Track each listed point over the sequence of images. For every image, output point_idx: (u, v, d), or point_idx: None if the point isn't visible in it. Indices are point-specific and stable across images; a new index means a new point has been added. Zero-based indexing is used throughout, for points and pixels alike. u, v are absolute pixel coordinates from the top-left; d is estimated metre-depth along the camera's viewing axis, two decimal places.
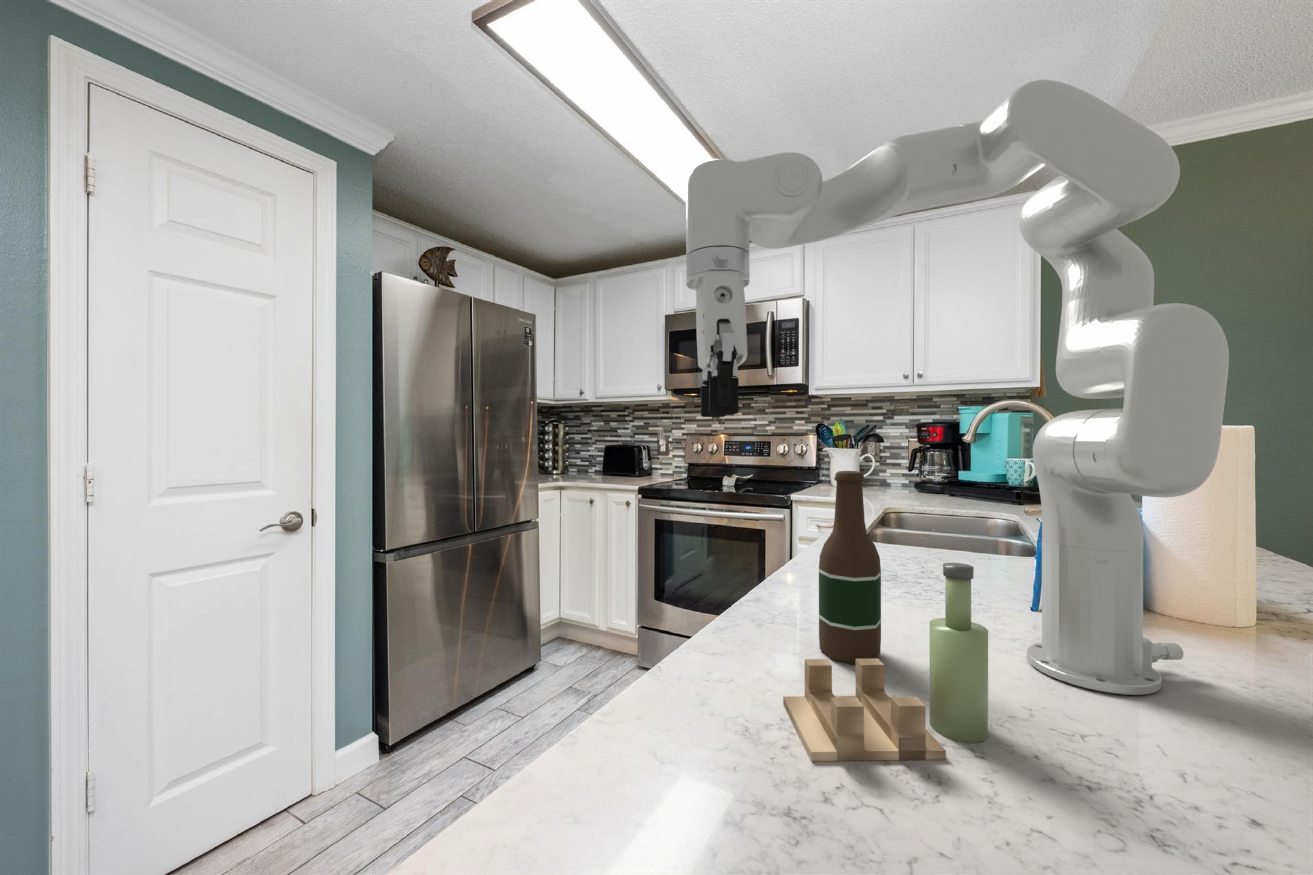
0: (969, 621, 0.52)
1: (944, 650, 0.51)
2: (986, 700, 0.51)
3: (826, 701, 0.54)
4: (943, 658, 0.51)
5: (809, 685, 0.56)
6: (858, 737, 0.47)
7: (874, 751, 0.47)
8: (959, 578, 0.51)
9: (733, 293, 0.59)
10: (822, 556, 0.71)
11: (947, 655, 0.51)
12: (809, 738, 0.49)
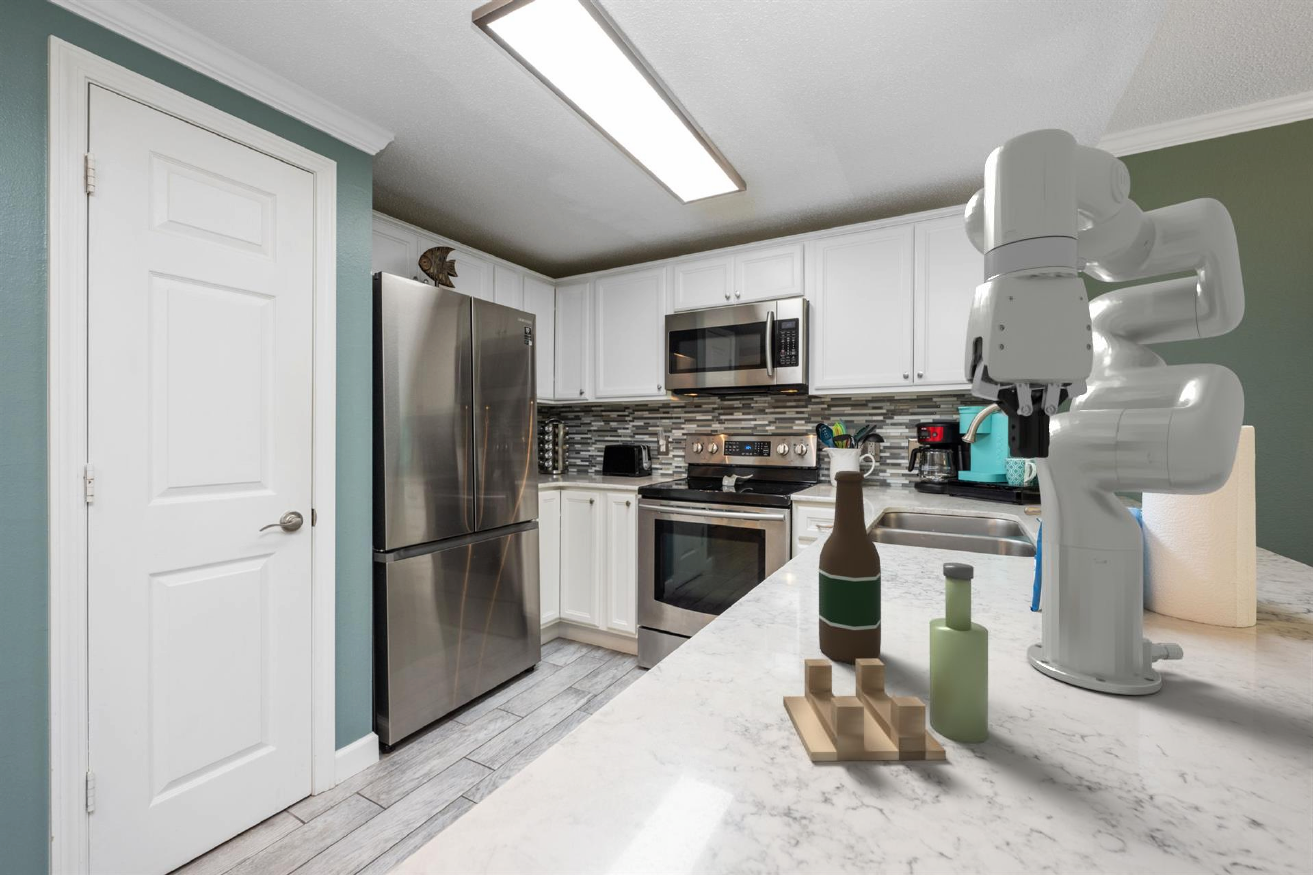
0: (969, 621, 0.52)
1: (944, 650, 0.51)
2: (986, 700, 0.51)
3: (826, 701, 0.54)
4: (943, 658, 0.51)
5: (809, 685, 0.56)
6: (858, 737, 0.47)
7: (874, 751, 0.47)
8: (959, 578, 0.51)
9: None
10: (822, 556, 0.71)
11: (947, 655, 0.51)
12: (809, 738, 0.49)
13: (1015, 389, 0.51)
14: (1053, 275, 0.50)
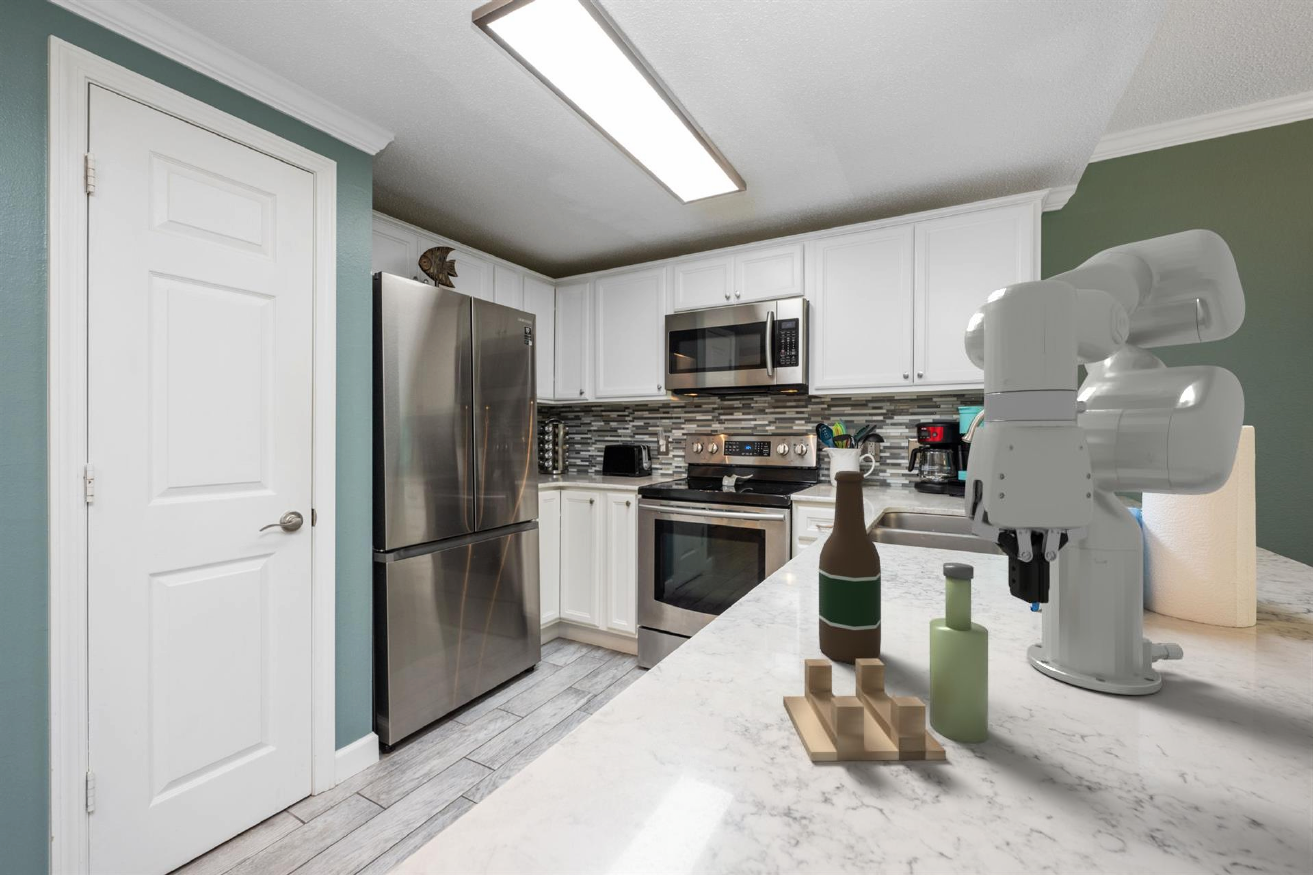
0: (969, 621, 0.52)
1: (944, 650, 0.51)
2: (986, 700, 0.51)
3: (826, 701, 0.54)
4: (943, 658, 0.51)
5: (809, 685, 0.56)
6: (858, 737, 0.47)
7: (874, 751, 0.47)
8: (959, 578, 0.51)
9: None
10: (822, 556, 0.71)
11: (947, 655, 0.51)
12: (809, 738, 0.49)
13: (1015, 534, 0.51)
14: (1053, 425, 0.50)
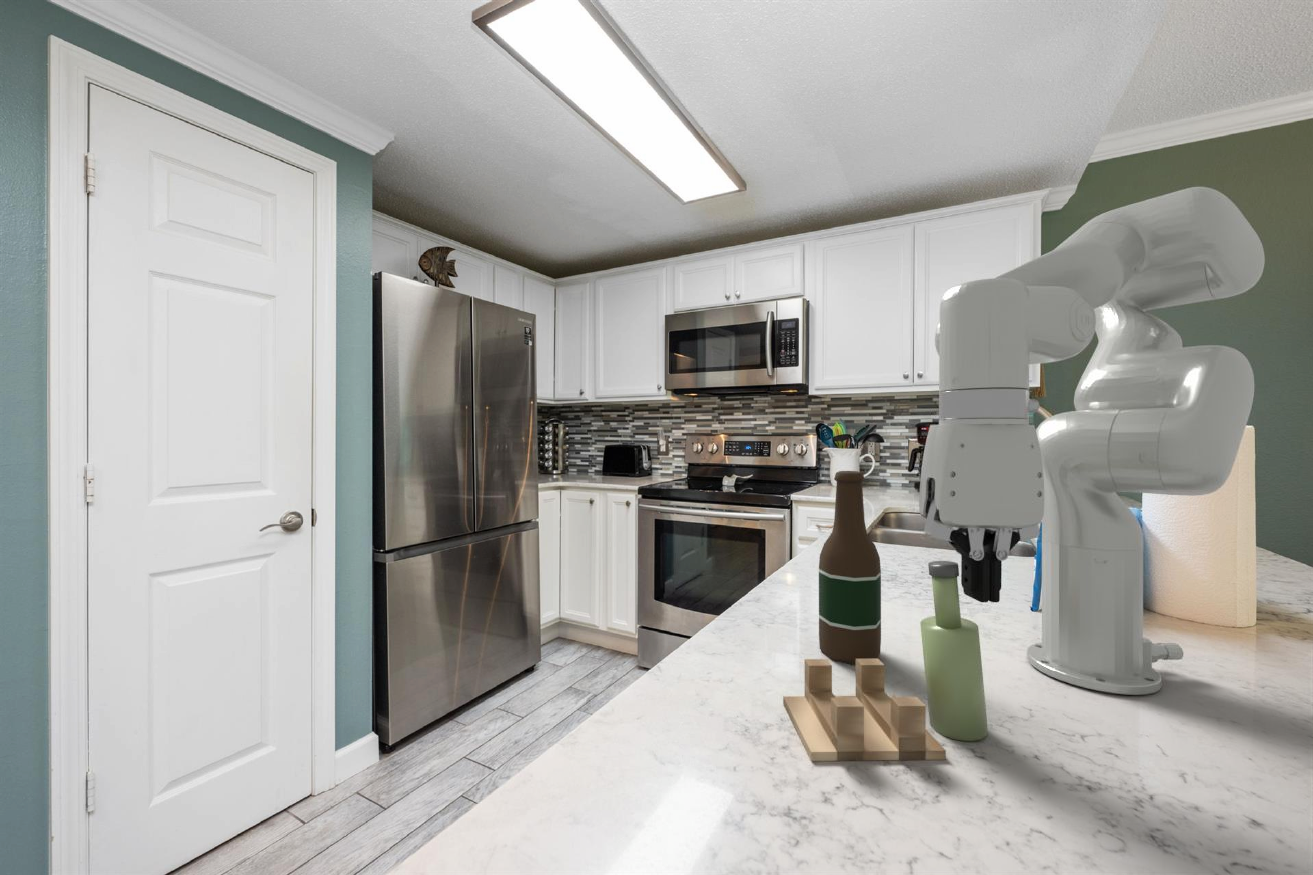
0: (958, 618, 0.51)
1: (936, 650, 0.51)
2: (982, 696, 0.51)
3: (826, 701, 0.54)
4: (936, 658, 0.51)
5: (809, 685, 0.56)
6: (858, 737, 0.47)
7: (874, 751, 0.47)
8: (944, 577, 0.51)
9: None
10: (822, 556, 0.71)
11: (939, 655, 0.51)
12: (809, 738, 0.49)
13: (967, 533, 0.51)
14: (1004, 423, 0.50)
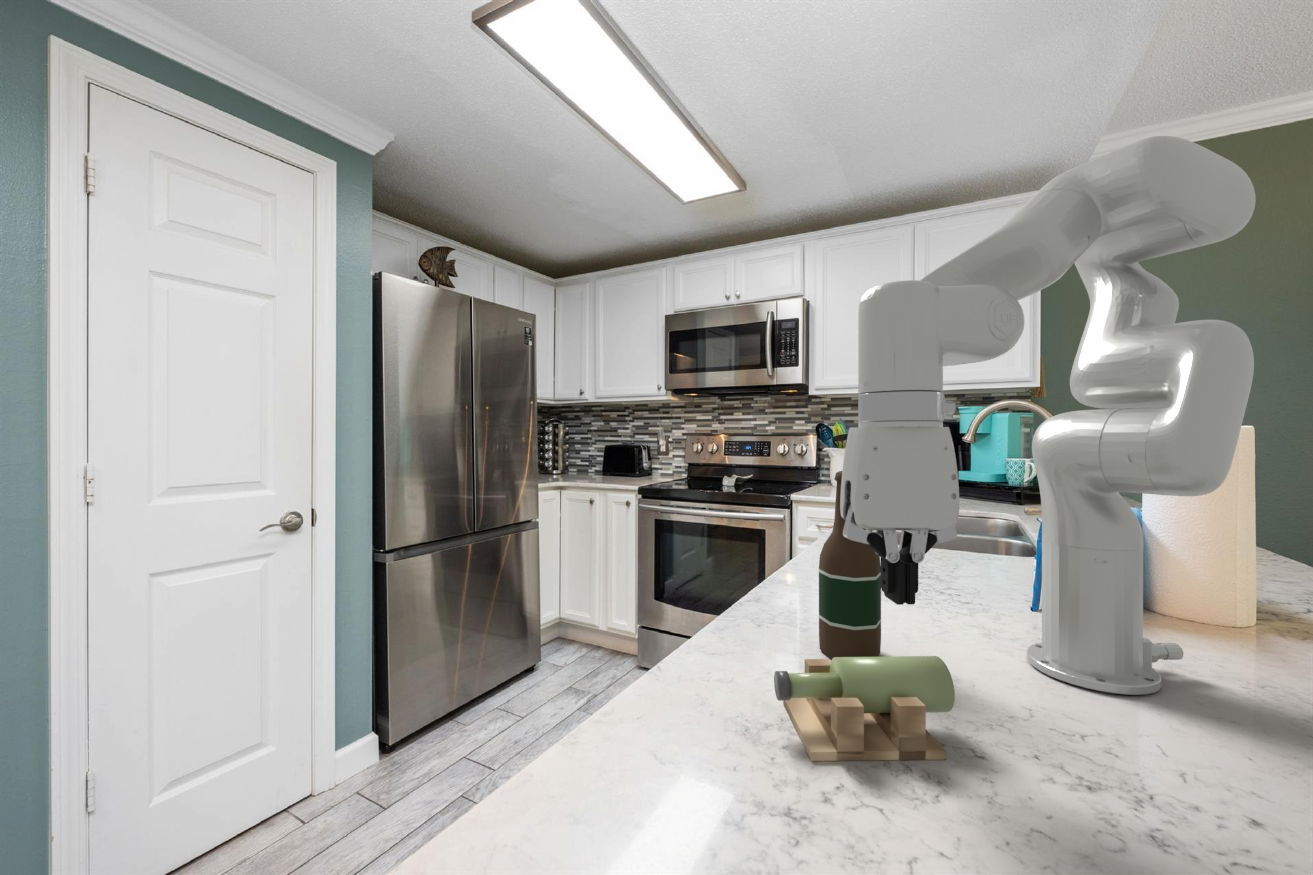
0: (833, 685, 0.51)
1: None
2: (913, 678, 0.50)
3: (826, 701, 0.54)
4: None
5: None
6: (858, 737, 0.47)
7: (874, 751, 0.47)
8: (789, 696, 0.51)
9: None
10: (822, 556, 0.71)
11: (866, 712, 0.51)
12: (809, 738, 0.49)
13: (883, 535, 0.51)
14: (916, 426, 0.50)
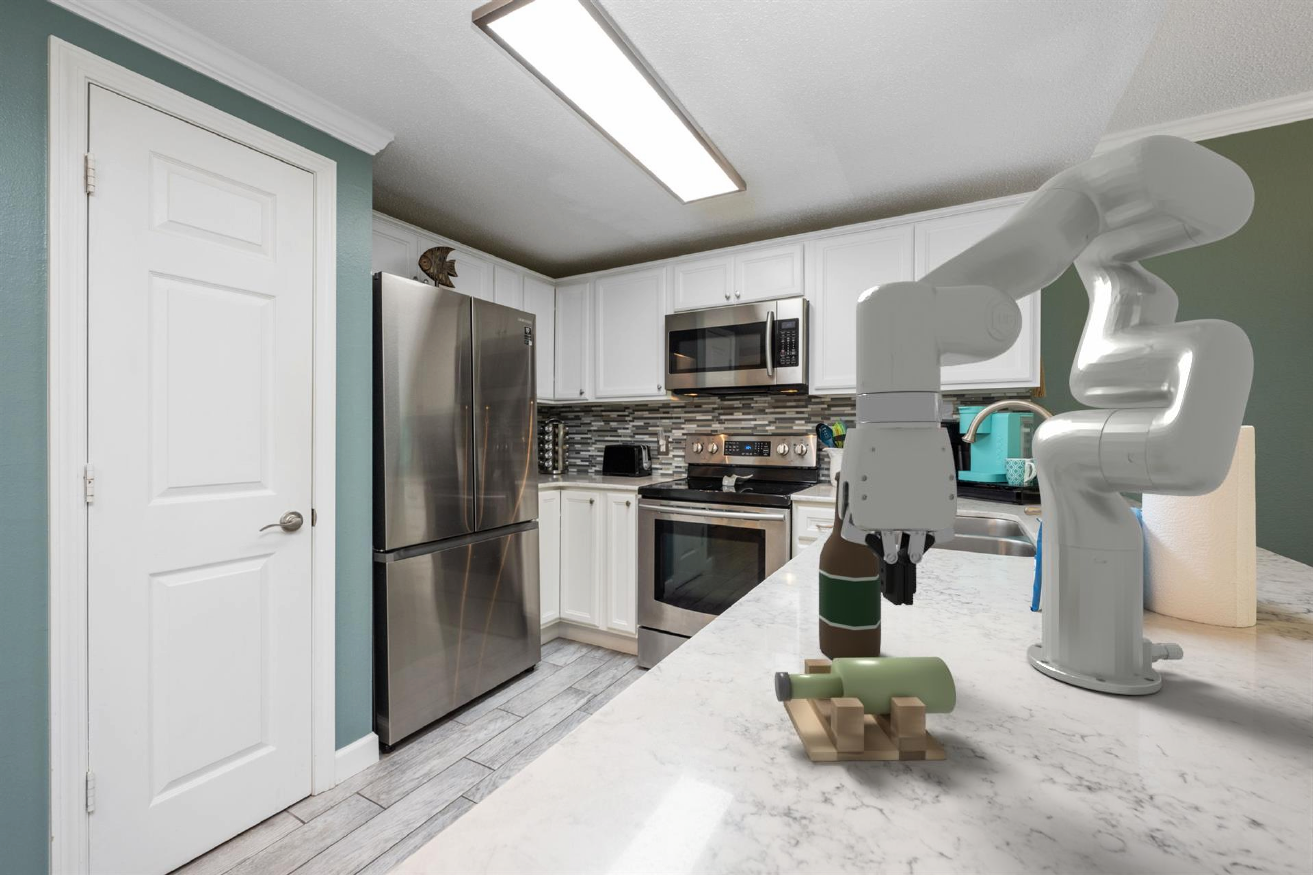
0: (834, 687, 0.51)
1: None
2: (914, 681, 0.50)
3: (826, 701, 0.54)
4: None
5: None
6: (858, 737, 0.47)
7: (874, 751, 0.47)
8: (790, 698, 0.51)
9: None
10: (822, 556, 0.71)
11: (866, 714, 0.51)
12: (809, 738, 0.49)
13: (881, 536, 0.51)
14: (914, 427, 0.50)
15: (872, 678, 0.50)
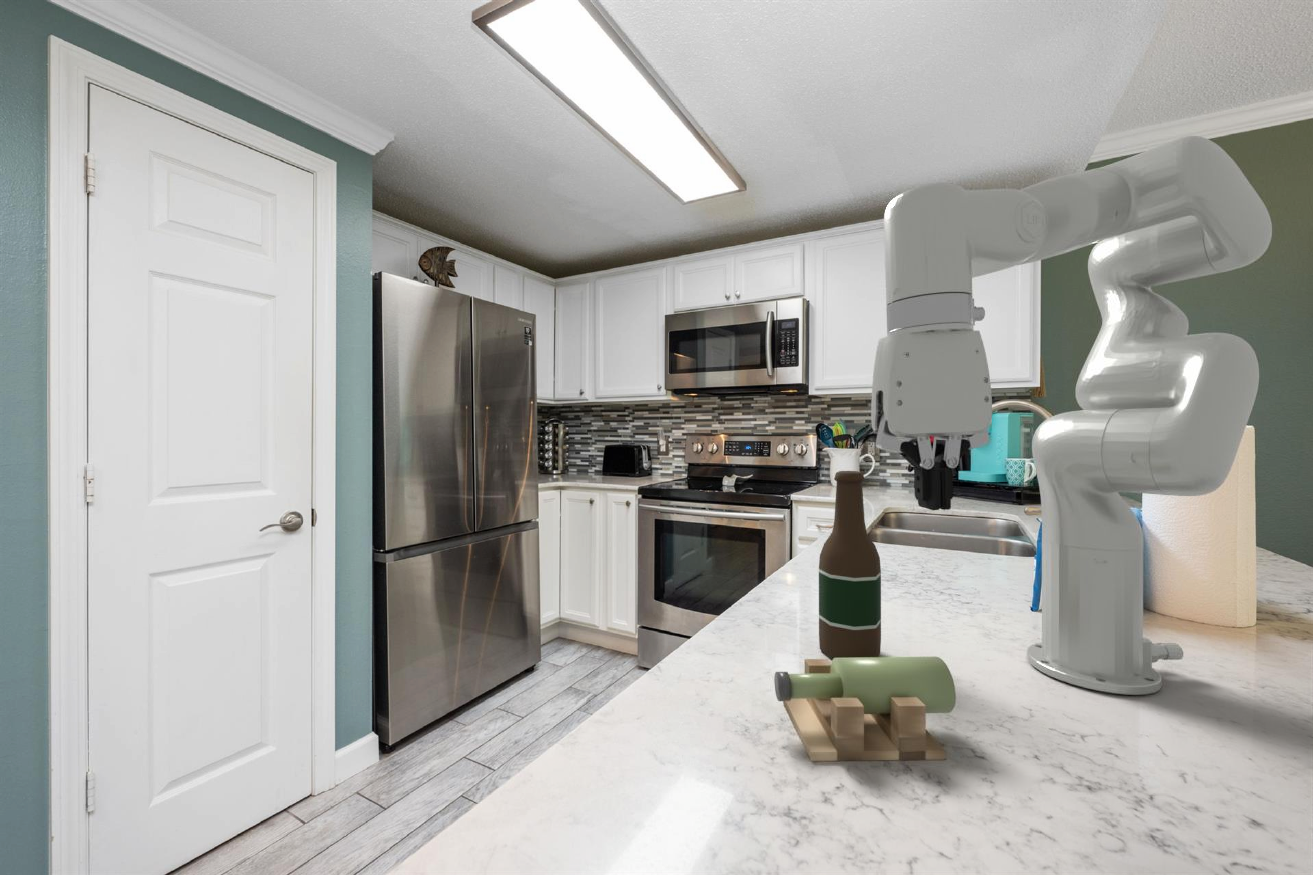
0: (833, 686, 0.51)
1: None
2: (914, 680, 0.50)
3: (826, 701, 0.54)
4: None
5: None
6: (858, 737, 0.47)
7: (874, 751, 0.47)
8: (790, 697, 0.51)
9: None
10: (822, 556, 0.71)
11: (866, 713, 0.51)
12: (809, 738, 0.49)
13: (916, 443, 0.51)
14: (948, 330, 0.50)
15: (872, 677, 0.50)
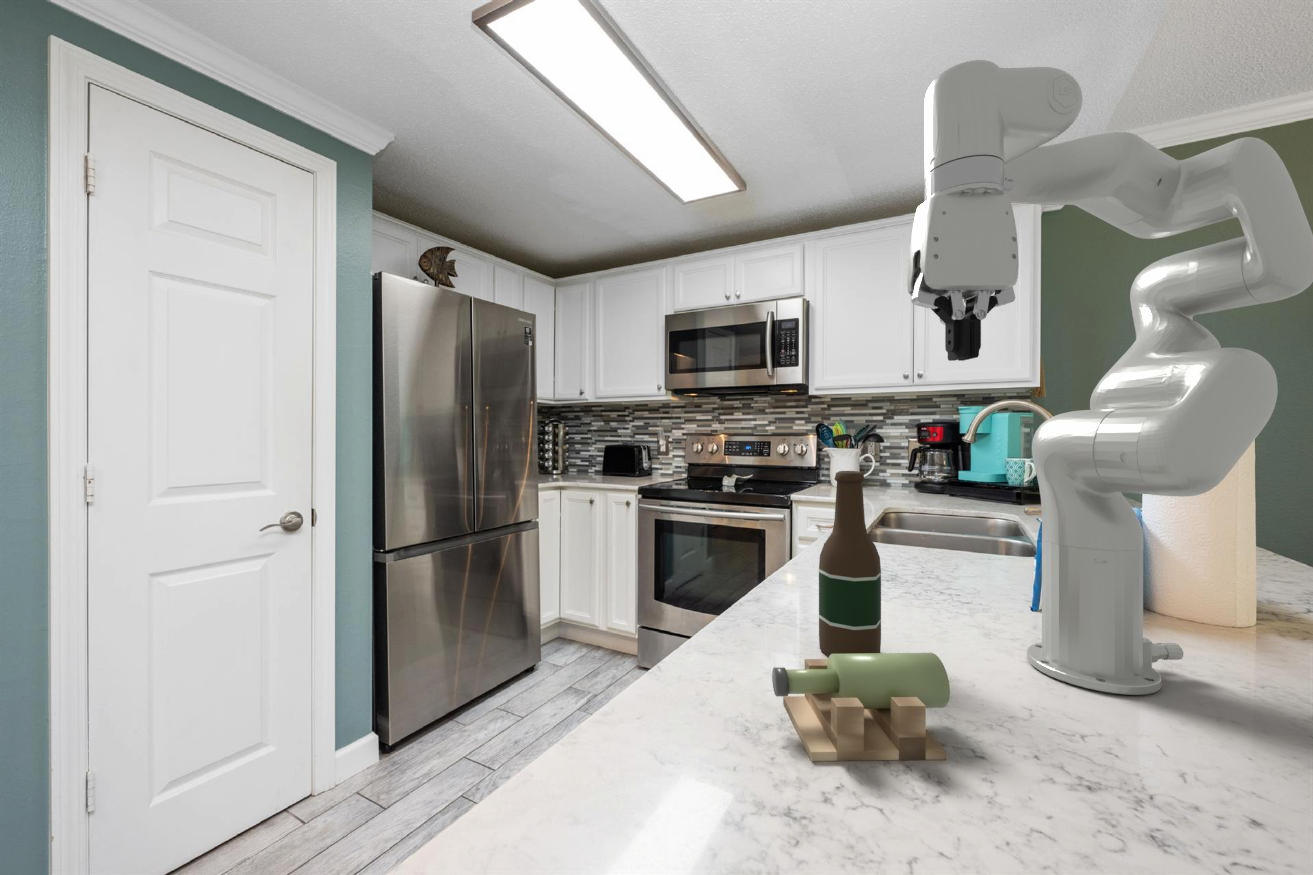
0: (829, 677, 0.52)
1: None
2: (906, 666, 0.52)
3: (826, 701, 0.54)
4: (868, 707, 0.51)
5: None
6: (858, 737, 0.47)
7: (874, 751, 0.47)
8: (788, 689, 0.52)
9: None
10: (822, 556, 0.71)
11: (865, 705, 0.51)
12: (809, 738, 0.49)
13: (949, 296, 0.57)
14: (981, 191, 0.56)
15: (864, 663, 0.52)
